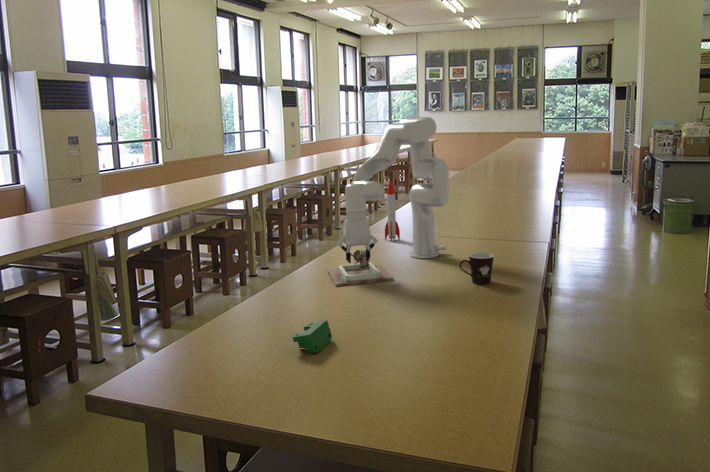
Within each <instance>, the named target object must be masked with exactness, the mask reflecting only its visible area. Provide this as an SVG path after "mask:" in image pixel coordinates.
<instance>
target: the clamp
mask: <svg viewBox="0 0 710 472" xmlns="http://www.w3.org/2000/svg"><path fill="white" fill-rule="evenodd" d="M303 330H304V331H301V332H296V333H295V334H293V335H292V336H291V337H292V341H293V342H294V343H297V344H298V348H299V349H300V348H306V349H305V350H307V353H308V354H309V353H312V354H317V353H318V352H320V351H321V350H322V349H323V348H325V346H327V344H328V343H330V341H332V337H333V335H332V332H331V329H330V324H329V321H328V320H327V319H325V320H319V321H313V322H310V323H309V322H308V323H307V324H306V325H304V326H303Z"/></svg>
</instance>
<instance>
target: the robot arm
mask: <svg viewBox="0 0 710 472" xmlns="http://www.w3.org/2000/svg"><path fill="white" fill-rule="evenodd" d="M436 133H437V123H436V121H435V119H434V118H432V117H429V116H422V117H421V116H418V117H414V116H413V117H405V118H401V120H399V121H398V122H397V123H390V124H389V125H387V126H385V129H384V130H383V132H382V135H381V137H380V140H379V141H378V144H377V147H375V148H376V149H375V151H374V153H373V155H371V156H370V157H369V158H367V160H366V161H364V162H363V163H362V164H361V166H359V168H357V170H356V171H355V174H354V175H353V178H352V180H351V182H350V183H348V184H346V185H345V189H344V191H345V194H344V195H345V212H346V216H345V217H346V218H345V219H344V221H343V236H342V237H341V239H339V241H337V243H336V244H337V246H339V248H340V249H341V250H343V251H344V252H345V258H346V262H348V263H349V264H351V263H352V260H351V259H352V257H351V254H352V253H351V251H350V250H351V248H352V247H354V246H355V247H356V246H357V247H358V246H364V247H365V248H366V249H365V250H364V252H365V253H366V257H365V259H366V260H367V261H368V262H370V259H371V252H372V249H373V248H374V247H375V245H376V244H377V243H378V239H377V238H376V237H374V236H373V235H372V234H371V228H370V223H369V219H368V216H371V212H370V211H367V207H366V206H367V205H366V204H367V203H366V202H369V201H370V202H371V201H372V202H373V201H375V202H377V201H379V200H380V199H382V197H383V196H384V194H385V187H384V185H383V184H382V183H381V182H379V181H376V180H375V181H374V180H370V179H371V178H372V177H373V176H374V175H375V174H377V173H378V172H380V171H383V170H385V169H387V168H389V167H391V166H392V165H393V164H394V162H395V160H396V157H397V156H398V153H399V151H400V148H401V147H402V146H410V151H411V155H410V156H411V171H412V172H411V173H412V176H413V178H414V179H415V180H418V181H427V182H431V183H425V182H422V183H416V184H414V185H412V186H411V188H410V190H409V200H410V201H409V202H410V205H411V211H412V238H413V239H412V242H413V244H412V247H413V250H411V251H410V252H409V256H410V257H412V258H415V259H432V258H437V257H439V255H440V251H445V250H447V246H446V245H441V244H439V245H438V244H436V225H435V224H436V223H435V221H436V220H435V219H436V218H435V217H436V215H435V213H434V209H433V208H434V207H435V208H443V207H445V206H446V205H448V203H449V199H450V173H449V172H450V171H449V170H450V169H449V165H448V164H447V162H446V161H445V160H444V159H442V158H438V157H435V158H434V157H433V154H432V145H431V142H430V140H429V139H432V138H433V136H435V135H436ZM432 207H433V208H432ZM343 243H344V244H345V245H346V246H344V245H343ZM350 253H351V254H350Z"/></svg>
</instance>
